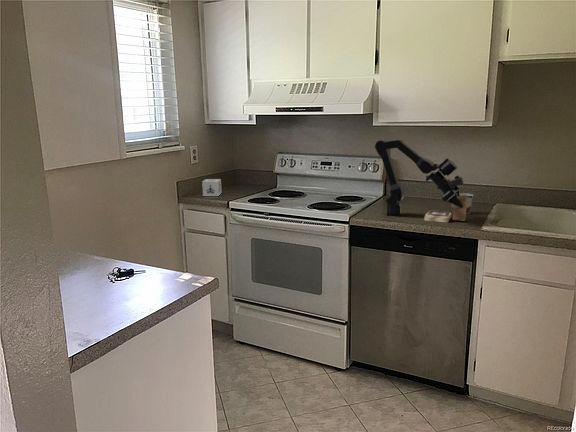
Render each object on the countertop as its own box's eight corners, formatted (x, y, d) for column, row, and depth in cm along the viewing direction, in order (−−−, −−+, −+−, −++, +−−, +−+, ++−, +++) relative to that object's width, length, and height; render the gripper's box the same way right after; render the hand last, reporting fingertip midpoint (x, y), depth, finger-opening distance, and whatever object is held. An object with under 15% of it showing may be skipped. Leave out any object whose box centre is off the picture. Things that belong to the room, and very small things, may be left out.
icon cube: (206, 194, 311) (205, 179, 308) (221, 194, 310) (221, 179, 308) (203, 197, 301) (202, 181, 299) (218, 197, 300) (217, 181, 298)
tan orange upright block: (452, 219, 229) (454, 197, 227) (453, 217, 234) (455, 195, 232) (464, 220, 227) (466, 198, 225) (465, 218, 232) (467, 196, 229)
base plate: (424, 220, 233) (424, 213, 232) (428, 215, 242) (428, 209, 242) (447, 222, 228) (448, 215, 227) (451, 217, 238) (451, 211, 237)
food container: (467, 211, 252) (469, 192, 249) (472, 213, 246) (474, 194, 243) (445, 211, 251) (446, 193, 249) (449, 214, 245) (450, 195, 243)
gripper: (451, 173, 219) (474, 198, 217) (456, 168, 235) (478, 192, 233) (432, 189, 224) (455, 214, 222) (439, 183, 240) (460, 206, 238)
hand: (463, 206), depth 229 cm, fingers closed on tan orange upright block, 5 cm apart
